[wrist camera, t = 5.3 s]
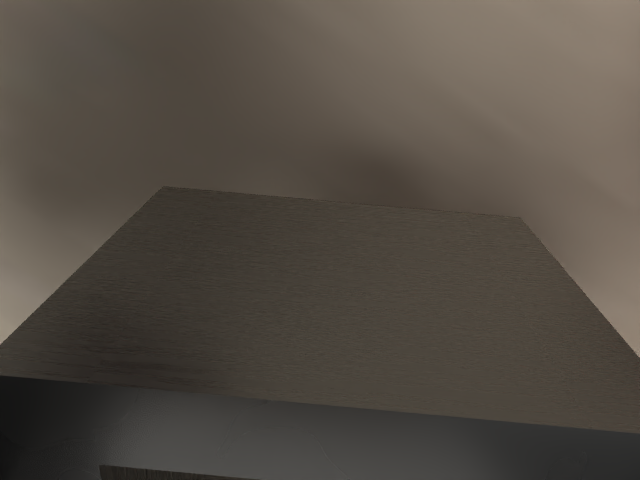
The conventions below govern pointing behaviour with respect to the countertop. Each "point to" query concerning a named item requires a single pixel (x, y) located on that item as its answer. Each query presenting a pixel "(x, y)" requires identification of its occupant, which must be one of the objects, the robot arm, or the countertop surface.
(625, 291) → the countertop surface
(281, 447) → the square tube
